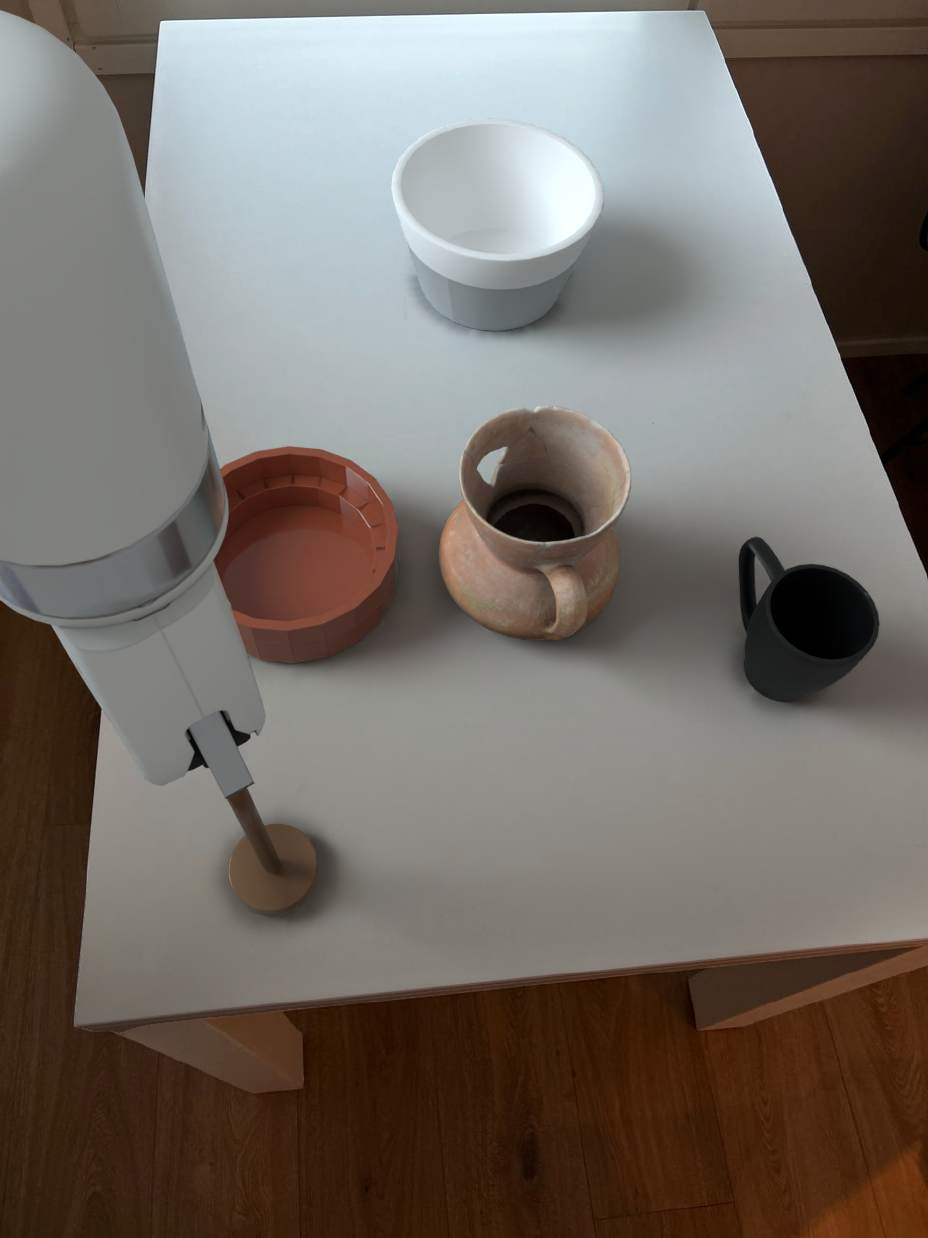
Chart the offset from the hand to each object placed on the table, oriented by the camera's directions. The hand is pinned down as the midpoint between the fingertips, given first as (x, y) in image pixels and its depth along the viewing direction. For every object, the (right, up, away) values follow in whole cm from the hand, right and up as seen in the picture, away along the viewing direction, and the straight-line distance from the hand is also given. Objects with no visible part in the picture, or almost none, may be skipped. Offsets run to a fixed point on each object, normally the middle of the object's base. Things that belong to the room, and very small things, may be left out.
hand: (205, 728), depth 44 cm
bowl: (+14, +39, +52) cm, 66 cm away
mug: (+36, +2, +34) cm, 49 cm away
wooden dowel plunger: (-1, -13, +23) cm, 27 cm away
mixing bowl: (-2, +9, +35) cm, 36 cm away
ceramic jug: (+17, +8, +36) cm, 40 cm away
